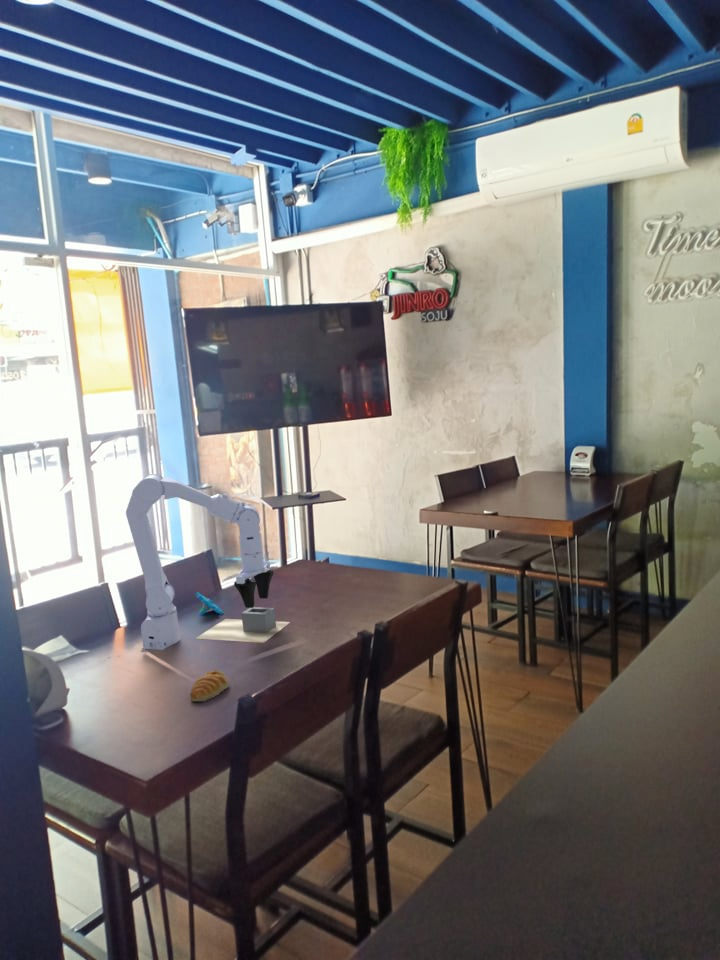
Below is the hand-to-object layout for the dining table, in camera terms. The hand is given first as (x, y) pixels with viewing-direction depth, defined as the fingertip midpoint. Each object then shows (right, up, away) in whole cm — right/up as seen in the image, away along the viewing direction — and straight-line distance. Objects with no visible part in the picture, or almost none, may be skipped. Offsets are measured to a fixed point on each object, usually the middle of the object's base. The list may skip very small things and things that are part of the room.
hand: (256, 602), depth 193 cm
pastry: (-5, -14, -34) cm, 37 cm away
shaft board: (-4, -8, +1) cm, 9 cm away
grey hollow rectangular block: (+1, -7, +1) cm, 7 cm away
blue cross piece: (-16, -7, +19) cm, 26 cm away
